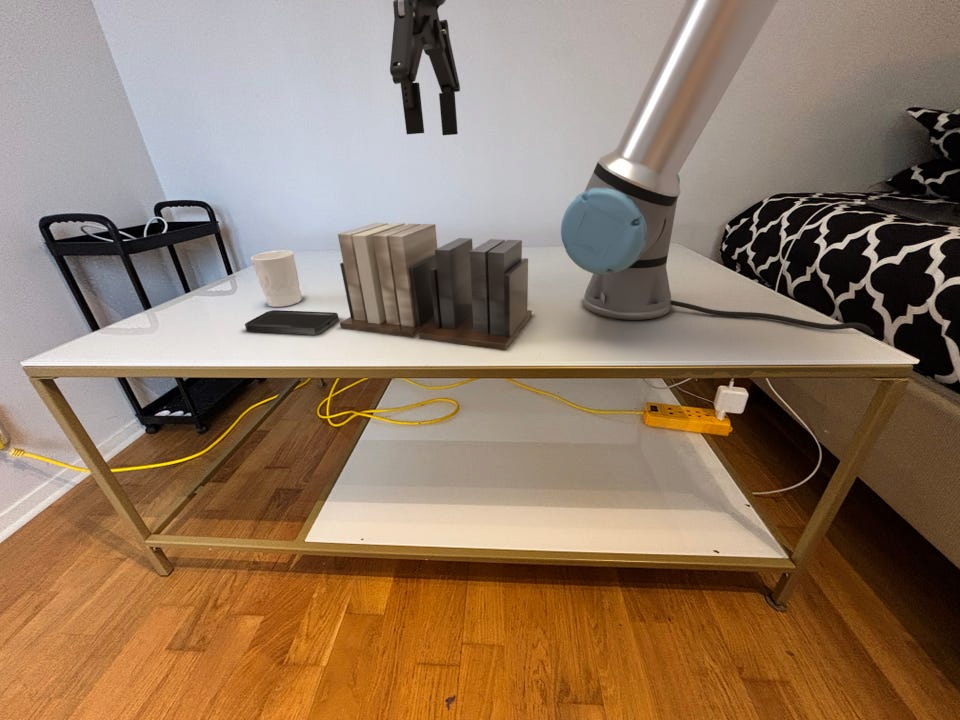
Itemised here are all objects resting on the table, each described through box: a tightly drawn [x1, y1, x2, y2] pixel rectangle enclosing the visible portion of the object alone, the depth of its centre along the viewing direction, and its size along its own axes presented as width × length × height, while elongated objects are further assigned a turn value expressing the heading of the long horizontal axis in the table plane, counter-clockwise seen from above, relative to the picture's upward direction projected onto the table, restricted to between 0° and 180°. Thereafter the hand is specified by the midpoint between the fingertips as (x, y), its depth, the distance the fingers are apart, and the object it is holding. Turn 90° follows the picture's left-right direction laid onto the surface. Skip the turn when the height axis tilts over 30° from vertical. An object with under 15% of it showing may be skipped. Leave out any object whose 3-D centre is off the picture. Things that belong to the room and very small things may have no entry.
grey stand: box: [418, 237, 533, 351], centre depth 68 cm, size 15×15×14 cm
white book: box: [352, 222, 406, 324], centre depth 73 cm, size 2×12×15 cm, turn 158°
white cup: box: [250, 250, 303, 308], centre depth 85 cm, size 8×8×10 cm
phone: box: [244, 309, 340, 336], centre depth 75 cm, size 8×1×15 cm
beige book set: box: [337, 222, 438, 339], centre depth 73 cm, size 15×15×16 cm
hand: (434, 134), depth 70 cm, fingers open, 13 cm apart
